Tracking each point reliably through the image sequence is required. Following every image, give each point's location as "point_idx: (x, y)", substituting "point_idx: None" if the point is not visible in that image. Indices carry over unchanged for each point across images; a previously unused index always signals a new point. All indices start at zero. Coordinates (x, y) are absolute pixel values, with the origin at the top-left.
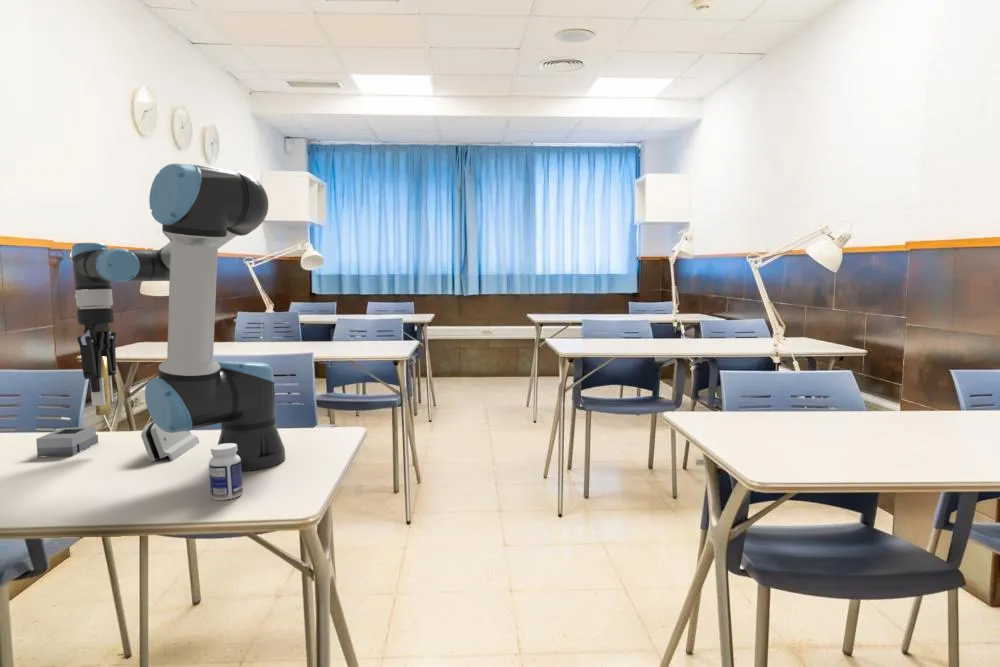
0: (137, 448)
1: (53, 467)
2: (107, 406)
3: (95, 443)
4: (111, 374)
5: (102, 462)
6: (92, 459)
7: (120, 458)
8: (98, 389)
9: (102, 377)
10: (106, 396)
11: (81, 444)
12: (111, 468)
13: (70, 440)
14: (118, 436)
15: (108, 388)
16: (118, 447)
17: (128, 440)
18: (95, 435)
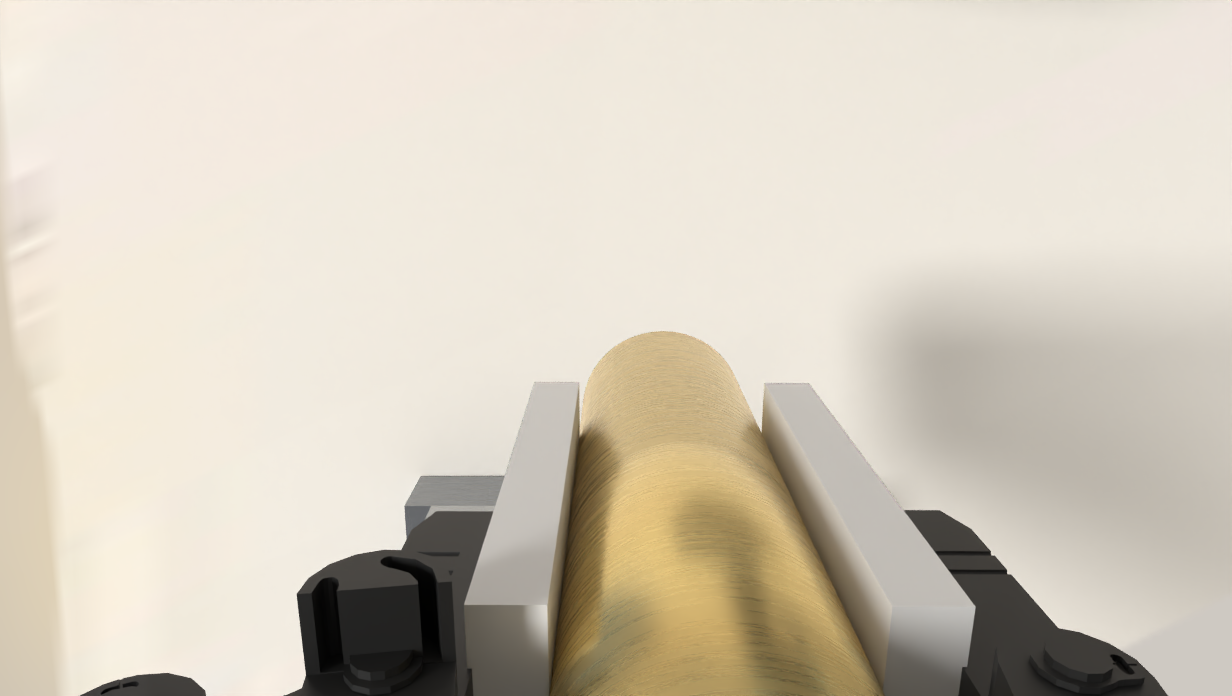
0: (618, 78)
1: (1047, 457)
2: (714, 370)
3: (460, 479)
4: (439, 624)
5: (1000, 173)
6: (895, 291)
7: (913, 81)
8: (933, 531)
9: (857, 645)
10: (740, 420)
11: None
12: (1195, 17)
13: None
14: (209, 423)
15: (694, 456)
16: (566, 258)
17: (345, 280)
18: (439, 507)
